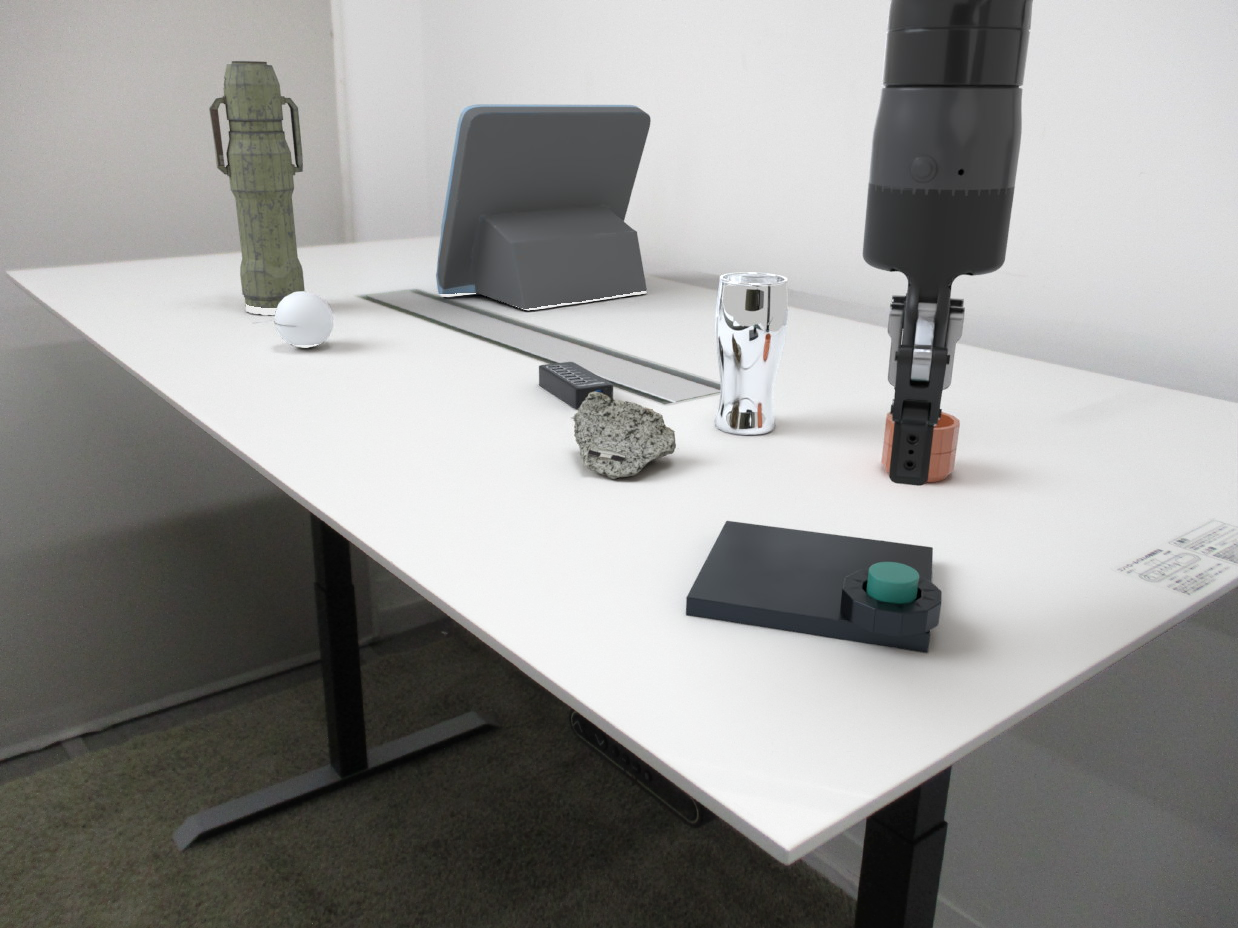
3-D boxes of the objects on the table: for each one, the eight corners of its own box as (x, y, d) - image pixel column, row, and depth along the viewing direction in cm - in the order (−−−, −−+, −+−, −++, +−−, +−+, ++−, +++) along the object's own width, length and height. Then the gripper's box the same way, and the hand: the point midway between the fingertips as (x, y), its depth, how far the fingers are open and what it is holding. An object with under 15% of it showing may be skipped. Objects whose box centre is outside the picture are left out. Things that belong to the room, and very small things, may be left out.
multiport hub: (572, 380, 118) (572, 360, 117) (614, 405, 108) (614, 384, 108) (537, 384, 116) (537, 364, 115) (577, 410, 106) (577, 389, 106)
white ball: (333, 339, 135) (328, 285, 133) (338, 352, 129) (333, 295, 126) (254, 344, 132) (248, 288, 129) (256, 358, 125) (249, 299, 123)
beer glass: (783, 437, 99) (795, 285, 94) (712, 436, 99) (720, 283, 94) (774, 416, 105) (785, 272, 100) (708, 415, 105) (715, 271, 100)
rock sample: (555, 442, 84) (598, 360, 88) (542, 472, 92) (582, 395, 95) (665, 497, 85) (703, 414, 88) (643, 523, 92) (680, 445, 95)
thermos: (228, 308, 153) (197, 61, 141) (306, 301, 159) (283, 63, 147) (241, 319, 146) (210, 60, 134) (322, 311, 152) (299, 62, 140)
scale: (937, 565, 72) (942, 527, 71) (935, 663, 60) (941, 618, 59) (725, 537, 76) (727, 500, 75) (681, 623, 64) (683, 580, 63)
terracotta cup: (952, 464, 92) (959, 412, 91) (952, 487, 87) (960, 432, 85) (882, 456, 94) (888, 405, 92) (878, 479, 88) (884, 425, 87)
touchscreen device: (599, 274, 185) (603, 101, 174) (670, 294, 171) (680, 108, 160) (431, 296, 164) (424, 100, 153) (497, 320, 150) (495, 107, 139)
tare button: (917, 587, 63) (919, 565, 63) (915, 609, 61) (918, 586, 60) (868, 580, 64) (870, 558, 64) (864, 601, 61) (867, 578, 61)
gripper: (1025, 190, 47) (978, 531, 53) (1008, 171, 59) (971, 451, 65) (860, 186, 49) (833, 514, 55) (876, 168, 61) (852, 439, 67)
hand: (908, 479), depth 60 cm, fingers closed
